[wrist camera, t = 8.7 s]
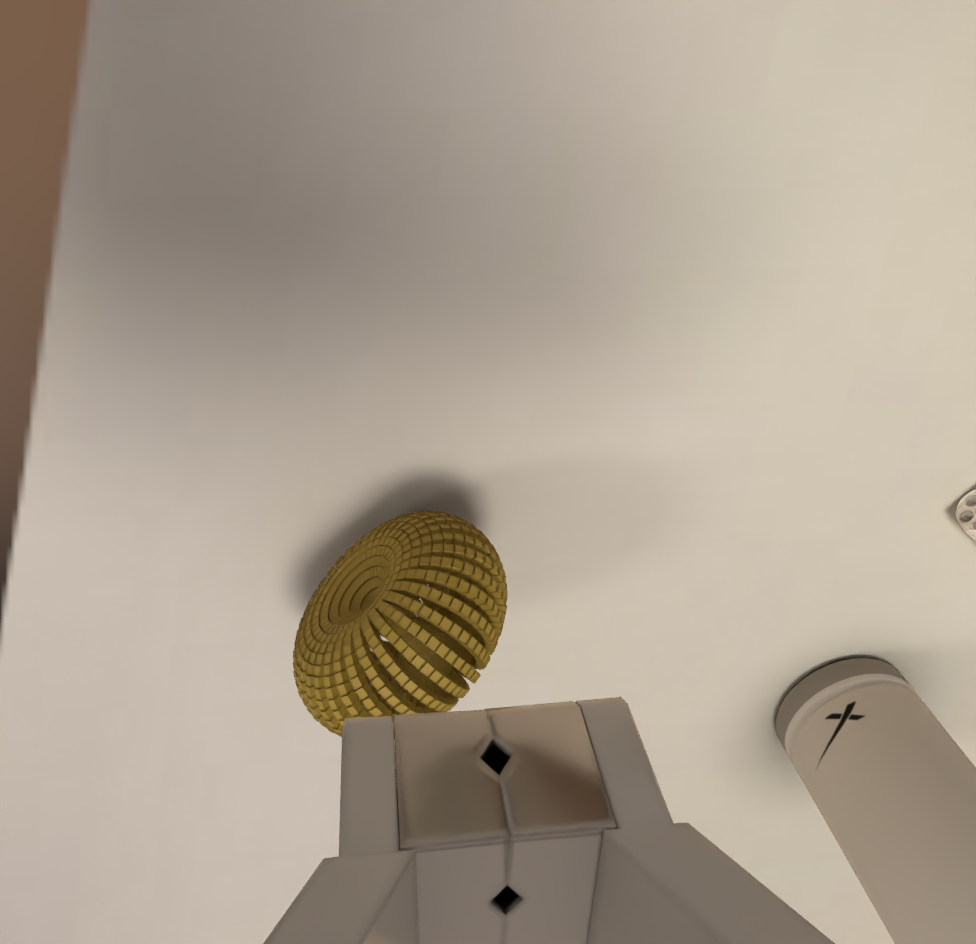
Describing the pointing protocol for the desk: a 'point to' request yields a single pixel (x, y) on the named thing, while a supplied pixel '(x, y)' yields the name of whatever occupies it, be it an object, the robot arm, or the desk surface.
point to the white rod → (967, 513)
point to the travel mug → (889, 795)
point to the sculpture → (401, 621)
